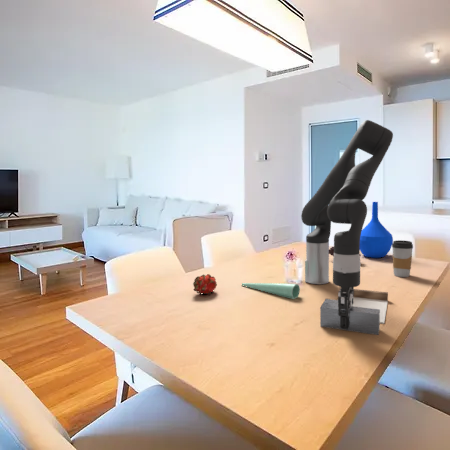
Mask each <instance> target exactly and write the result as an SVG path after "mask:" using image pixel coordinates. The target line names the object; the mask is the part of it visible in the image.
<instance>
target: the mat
mask: <svg viewBox="0 0 450 450" xmlns="http://www.w3.org/2000/svg"><path fill="white" fill-rule="evenodd" d="M388 301H389V300H388ZM388 301H385V300H376V299H367V298H357V297H354V301H353V305H352V306H354V307H363V308H371V309H379V310H380V324H385V321H386V316H387V315H386V314H387V307H388Z"/></svg>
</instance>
